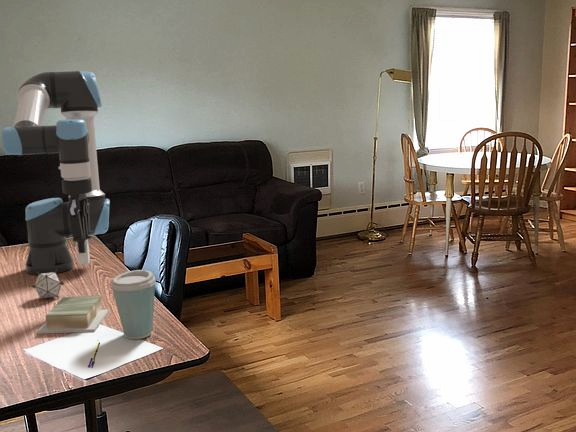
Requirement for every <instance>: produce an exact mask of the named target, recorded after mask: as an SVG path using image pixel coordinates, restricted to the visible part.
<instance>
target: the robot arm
mask: <svg viewBox="0 0 576 432" xmlns="http://www.w3.org/2000/svg"><path fill="white" fill-rule="evenodd" d="M16 102H17V105H18V106H17V110H16V115H15V117H14V122H13V126H8V127H4V128H3V129H2V130H1V144H2V149H3V151H4V153H5V154H6V155H7V156H12V155H13V156H16V155H17V156H23V155H25V156H26V155H41V154H58V155H59V166H58V170H60V177H61V178H62V180H61V189H62V193H63V194H64V195H68V201H65V202H64V201H63V198H61V197H51V198H46V199H42V200H37V201H33V202H32V203H31V202H30V203H29V204H28V205H27V206H26V207H25V210H24V211H25V221H26V222H25V223H26V229H27V241H28V252H27V258H26V261H25V271H26V273H27V274H29V275H34V276H38V275H39V274H41V273H51V272H55V270H57V272H56V274H60V273H63V272H67V271H69V270H72V269H73V268H74V267H75V262H74V261H75V260H74V258H73V255H72V254H71V252H70V249H69V248H68V247H69V246H68V245H67V238H69V237H72V242H76V250H77V260H78V264H79V265H89V264H90V263H91V258H90V247H89V244H90V243H89V239H92V236H96V235H102V234H105V233H107V231H108V230H109V225H110V224H109V220H110V219H109V218H110V206H111V205H110V203H111V201H110V199H109V198H106V193H104V192H103V191H102V190H101V189H100V188H101V187H100V177H99V164H98V152H97V144H96V130H95V129H96V128H95V120H94V119H95V117H96V115H97V114H98V113H99V109H98V108H101V107H102V106H103V104H102V101H101V95H100V90H99V85H98V82H97V77H96V75H95V73H93V72H92V71H81V70H79V71H78V70H76V71H74V70H73V71H45V72H40V73H37V74H36V75H32V76H31V77H29V78H28V79H27V80H25V81H24V82H23V83H22V84H21V86H20V87H19V88H18V91H17V93H16ZM47 109H60V114H61V116H63V117H64V118H65V119H58V120H57V122H56V124H55V125H44V119H45V112H46V110H47ZM91 235H92V236H91ZM37 272H39V274H38V273H37Z"/></svg>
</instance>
